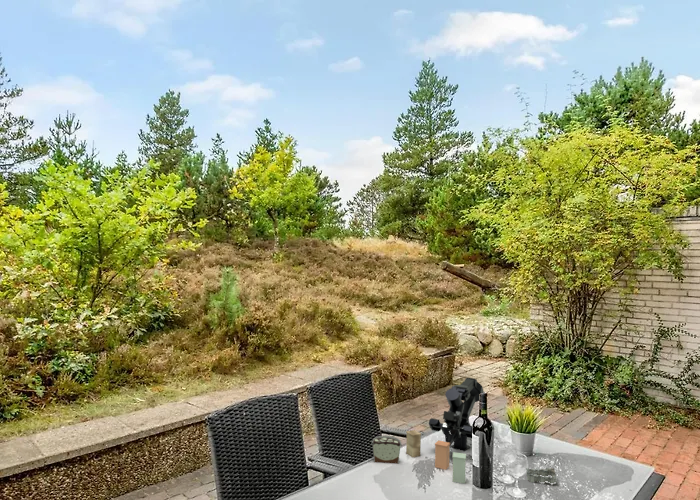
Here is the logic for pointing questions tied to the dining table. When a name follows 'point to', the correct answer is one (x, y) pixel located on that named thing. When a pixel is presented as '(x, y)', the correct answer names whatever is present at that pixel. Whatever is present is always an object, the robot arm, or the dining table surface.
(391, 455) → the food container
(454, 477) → the sage key
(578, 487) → the dining table surface
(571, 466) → the dining table surface
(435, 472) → the dining table surface
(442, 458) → the orange rectangular block
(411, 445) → the oak key
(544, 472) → the egg carton
